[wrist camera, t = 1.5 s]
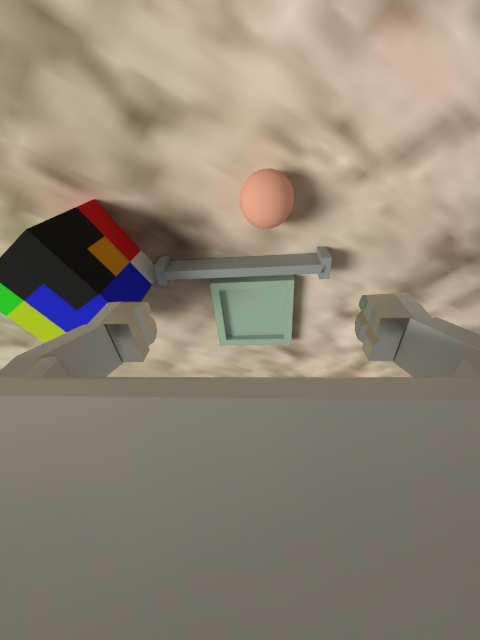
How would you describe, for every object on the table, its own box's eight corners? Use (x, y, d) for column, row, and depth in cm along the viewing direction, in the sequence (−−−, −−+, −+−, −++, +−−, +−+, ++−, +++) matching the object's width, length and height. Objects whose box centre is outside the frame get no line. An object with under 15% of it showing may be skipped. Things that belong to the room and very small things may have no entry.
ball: (239, 167, 24) (235, 176, 20) (292, 163, 24) (298, 170, 20) (243, 221, 27) (240, 237, 24) (290, 218, 27) (295, 234, 23)
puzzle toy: (161, 271, 32) (128, 320, 24) (110, 306, 36) (67, 358, 28) (94, 198, 27) (26, 229, 19) (44, 248, 31) (-31, 290, 23)
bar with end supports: (161, 255, 30) (153, 266, 28) (326, 246, 29) (332, 257, 26) (166, 273, 32) (159, 285, 30) (323, 266, 30) (329, 278, 28)
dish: (211, 277, 32) (209, 283, 31) (293, 274, 31) (294, 280, 30) (221, 338, 38) (220, 345, 37) (290, 336, 37) (291, 344, 36)
